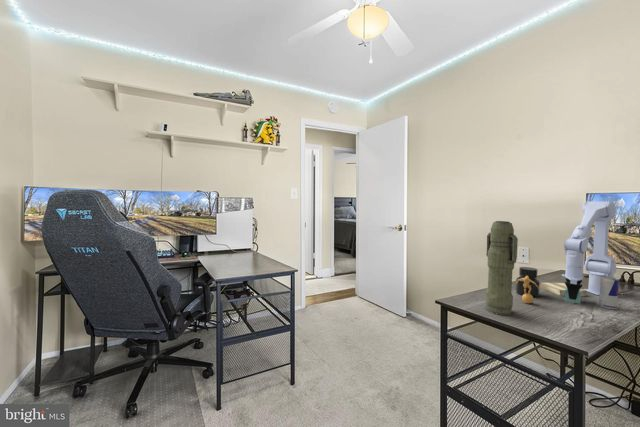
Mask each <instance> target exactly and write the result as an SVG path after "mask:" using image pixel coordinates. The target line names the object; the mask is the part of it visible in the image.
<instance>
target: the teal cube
mask: <svg viewBox="0 0 640 427" xmlns="http://www.w3.org/2000/svg"><path fill="white" fill-rule="evenodd" d="M581 297H582V296H581V290H579V292H578V295H577V298H576V300H573V299H569V295H568V289H567V287H566V289H565V296H564V302H567V303H568V302H570V303H573V304H575V303H576V304H581Z"/></svg>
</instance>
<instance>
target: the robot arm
mask: <svg viewBox="0 0 640 427" xmlns="http://www.w3.org/2000/svg"><path fill="white" fill-rule="evenodd" d="M581 208H582V213H583V216H582V220H581V222H580V224H579V225H577V226H576V227H575V228H574V230H573V232H572V234H571V236H570V237H568V238H567V239H565V240H564V243H563V249H564V254H565V255H566V259H565V274H564V273H563V274H561V276H562V277H564V278H565V281H564V283H565V285H566V286H567V289H568V295H569V299H573V300H576V298H577V295H578V292H579V290H580V288H581V289H583V290H586V291H587V293H591V294H593V295H597V296H600V281H601V278H602V277H611V278H616V277H615V276H614V275H615V274H616V272H617V264H616V258H613V257H612V256H611V255H609V254H608V252H609V251H608V249H609V248H608V247H609V236H610V235H609V234H610V232H609V230H610V221H611V220H613V219H615V216H616V205H615V203H614V201H611V200H610V201H598V200H597V201H591V200H590V201H589V200H585V201H584V202H583V203H582V207H581ZM593 225H594V230H593V229H592V227H593ZM593 231H594V236H593V252H592V253H591V254H588V255H587V256H586V258H585V253H587V251H588V247H589V240H590V237H591V236H592V234H593ZM584 259H585V260H584ZM584 261H585V262H584ZM584 269H585V271H586V272H587V274H588V275H589V276H588V287H587V288H582V287H583V284H582V282H583V280H584Z"/></svg>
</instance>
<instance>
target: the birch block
mask: <svg viewBox="0 0 640 427" xmlns="http://www.w3.org/2000/svg"><path fill="white" fill-rule="evenodd" d="M566 287H567V286H566V285H565V282H540V288H541V289H543V290H545V291H548V292H550V293H553V294H555V295H557V296H564V297H565V289H566ZM583 289H584V288H582V287H581V288H580V290H581V297H587V293H588V291H586V290H583Z"/></svg>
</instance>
